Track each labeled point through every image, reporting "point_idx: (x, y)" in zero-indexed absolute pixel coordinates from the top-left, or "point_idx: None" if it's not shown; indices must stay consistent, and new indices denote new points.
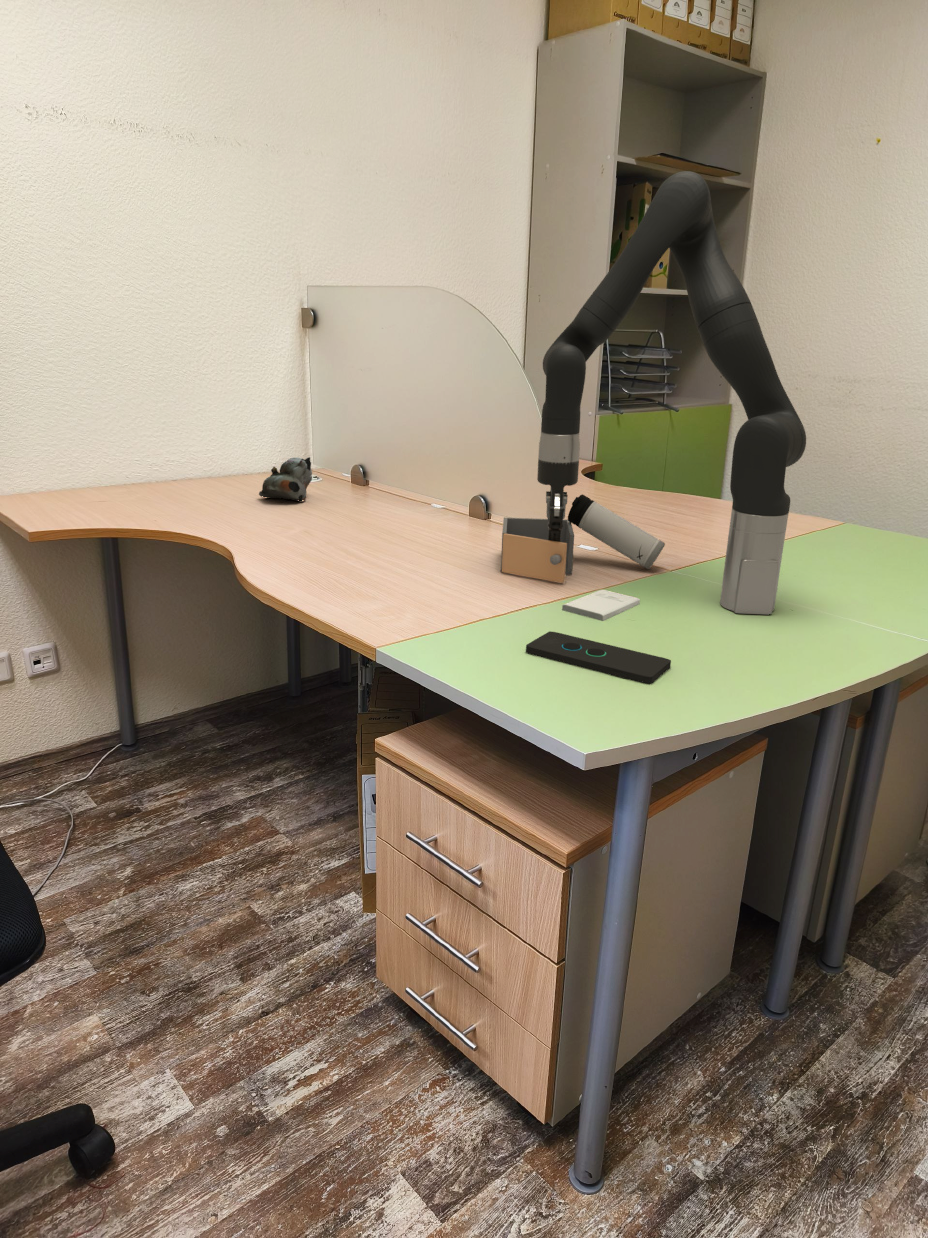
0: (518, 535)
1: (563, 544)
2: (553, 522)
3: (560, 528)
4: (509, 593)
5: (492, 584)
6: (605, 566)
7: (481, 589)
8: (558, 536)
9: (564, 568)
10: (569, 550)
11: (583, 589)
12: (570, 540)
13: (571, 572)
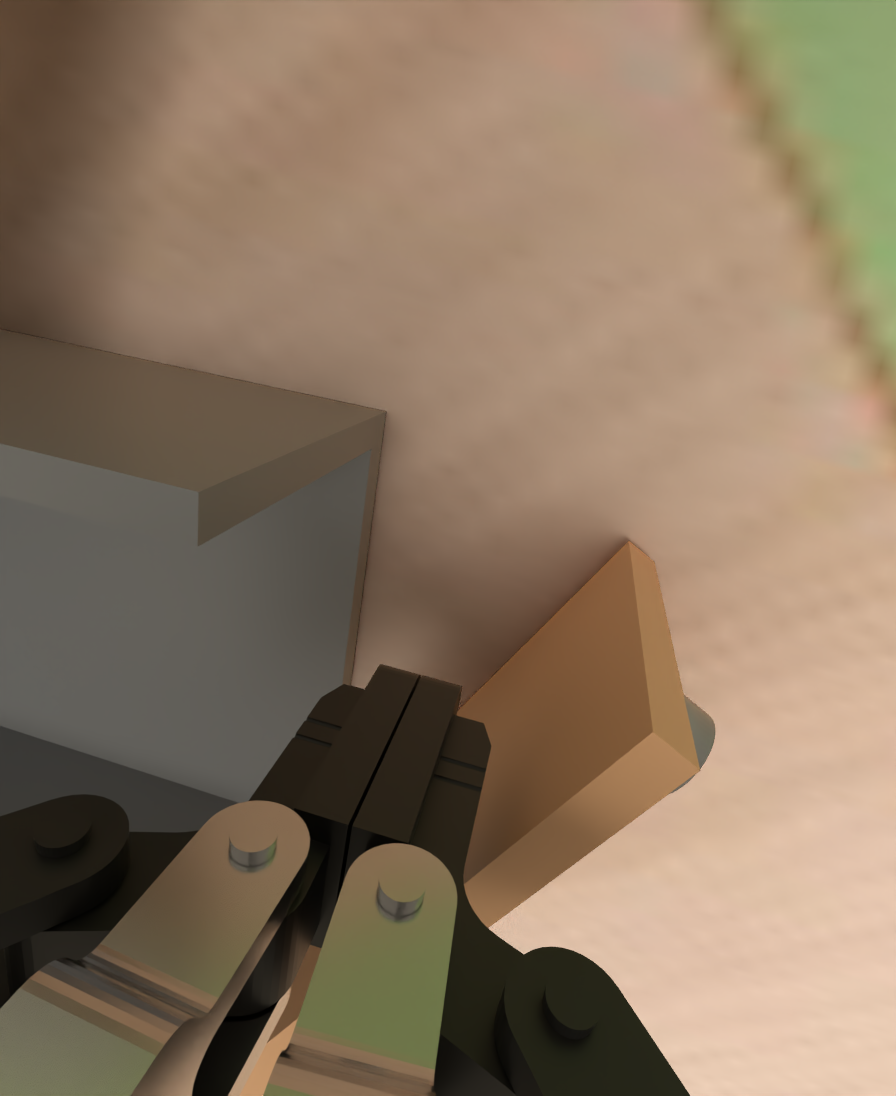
0: (270, 1043)
1: (679, 778)
2: (251, 988)
3: (613, 1006)
4: (777, 921)
5: (571, 939)
6: (120, 21)
7: (662, 1014)
8: (427, 794)
9: (650, 599)
10: (296, 488)
11: (801, 421)
12: (240, 517)
13: (381, 418)
